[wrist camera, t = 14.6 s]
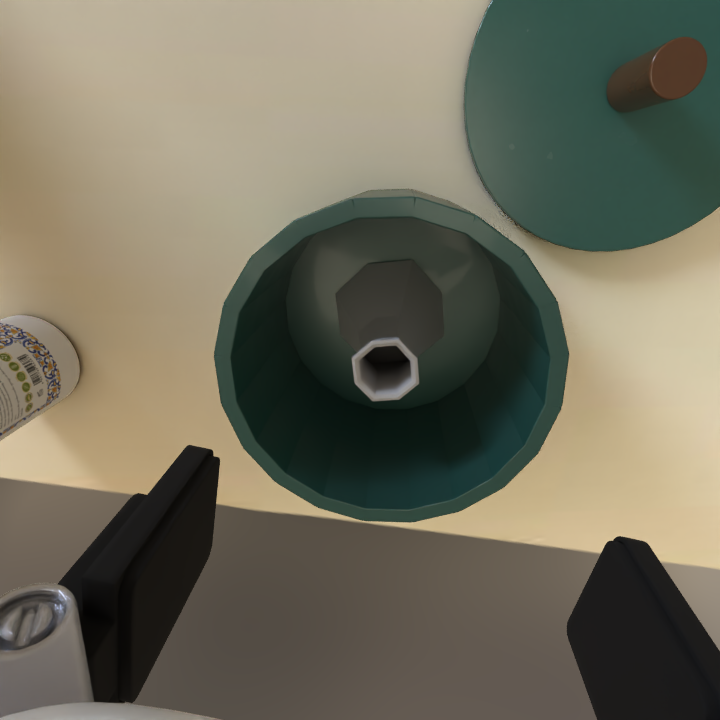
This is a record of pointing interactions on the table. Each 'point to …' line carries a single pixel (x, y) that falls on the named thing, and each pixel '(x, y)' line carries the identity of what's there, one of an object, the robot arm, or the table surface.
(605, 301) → the table surface
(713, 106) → the tin lid
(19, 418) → the bath foam
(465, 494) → the tin
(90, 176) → the table surface
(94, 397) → the table surface
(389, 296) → the flask
